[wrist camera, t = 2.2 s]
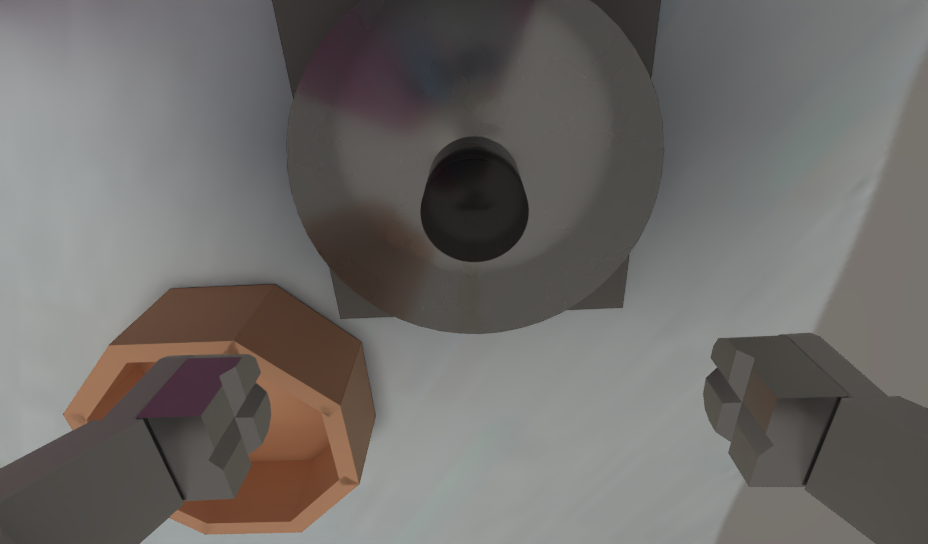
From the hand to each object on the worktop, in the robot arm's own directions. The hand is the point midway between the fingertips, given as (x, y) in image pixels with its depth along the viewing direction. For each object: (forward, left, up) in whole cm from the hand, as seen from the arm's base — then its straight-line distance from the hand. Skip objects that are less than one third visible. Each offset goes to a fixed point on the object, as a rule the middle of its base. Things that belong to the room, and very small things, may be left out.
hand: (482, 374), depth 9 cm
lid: (-1, 0, -10) cm, 10 cm away
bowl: (+9, -11, -11) cm, 18 cm away
